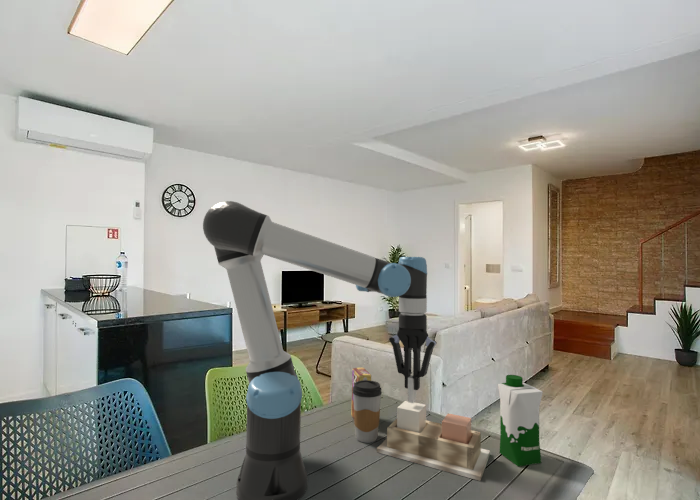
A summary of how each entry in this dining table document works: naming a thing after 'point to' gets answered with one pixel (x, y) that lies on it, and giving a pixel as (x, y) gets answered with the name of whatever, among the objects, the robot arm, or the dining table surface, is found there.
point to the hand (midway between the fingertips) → (412, 401)
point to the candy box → (358, 375)
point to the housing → (436, 450)
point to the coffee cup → (366, 410)
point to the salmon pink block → (456, 428)
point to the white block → (411, 416)
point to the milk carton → (519, 421)
